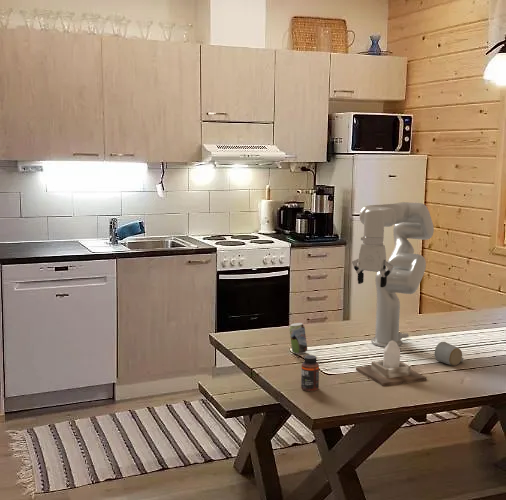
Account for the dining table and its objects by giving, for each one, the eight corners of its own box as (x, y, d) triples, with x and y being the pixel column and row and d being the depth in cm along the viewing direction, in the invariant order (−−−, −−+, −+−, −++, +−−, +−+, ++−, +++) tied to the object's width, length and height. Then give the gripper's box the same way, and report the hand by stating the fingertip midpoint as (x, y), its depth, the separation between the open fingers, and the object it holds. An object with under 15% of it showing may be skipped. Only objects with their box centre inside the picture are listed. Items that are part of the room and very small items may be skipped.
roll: (396, 337, 252) (403, 341, 247) (395, 369, 254) (402, 374, 248) (381, 338, 250) (388, 342, 245) (380, 370, 252) (386, 375, 247)
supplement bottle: (317, 385, 238) (318, 353, 236) (319, 392, 232) (320, 359, 230) (300, 385, 238) (300, 353, 236) (301, 392, 232) (302, 359, 230)
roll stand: (397, 364, 262) (397, 354, 262) (426, 379, 246) (426, 369, 245) (355, 370, 255) (356, 359, 255) (382, 385, 239) (383, 374, 238)
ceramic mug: (450, 368, 259) (451, 348, 258) (433, 362, 266) (434, 342, 265) (468, 363, 265) (470, 344, 264) (451, 358, 272) (453, 339, 271)
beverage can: (306, 356, 271) (307, 326, 269) (287, 354, 273) (288, 325, 271) (308, 351, 277) (309, 322, 276) (290, 350, 279) (290, 321, 277)
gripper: (348, 240, 269) (347, 283, 271) (389, 244, 258) (387, 289, 261) (358, 238, 275) (356, 280, 277) (398, 242, 264) (396, 286, 267)
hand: (371, 285), depth 269 cm, fingers open, 9 cm apart
